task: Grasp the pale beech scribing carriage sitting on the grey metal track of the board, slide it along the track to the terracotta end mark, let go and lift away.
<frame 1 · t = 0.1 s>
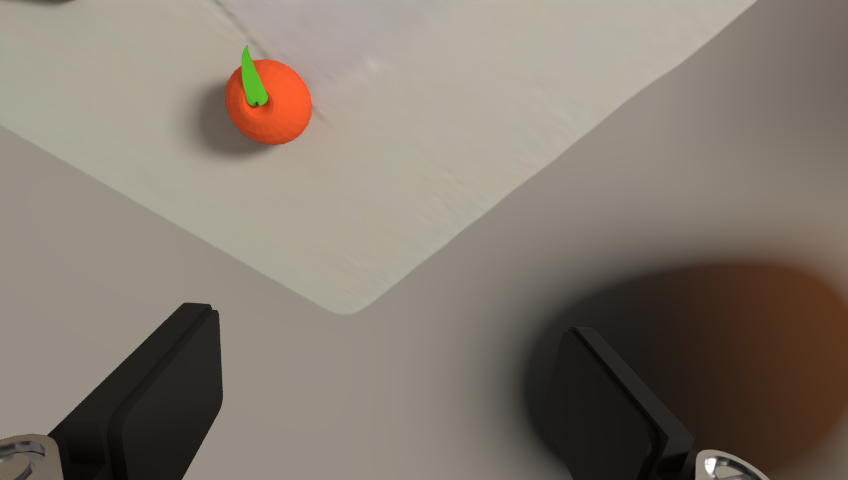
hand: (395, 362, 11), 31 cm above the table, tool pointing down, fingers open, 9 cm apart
clementine: (279, 97, 37), on the table
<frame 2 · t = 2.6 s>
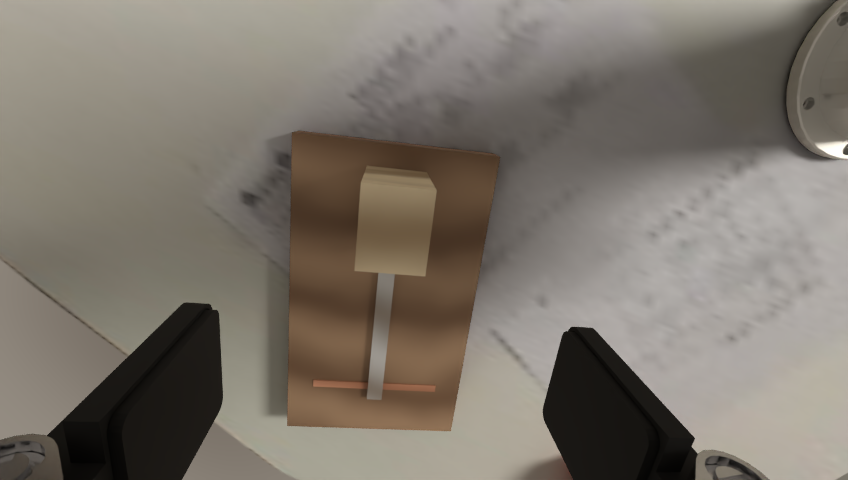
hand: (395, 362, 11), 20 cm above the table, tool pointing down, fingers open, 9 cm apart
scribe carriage: (393, 221, 24), point 6 cm above the table, slide at 0.0 cm
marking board: (383, 292, 32), on the table
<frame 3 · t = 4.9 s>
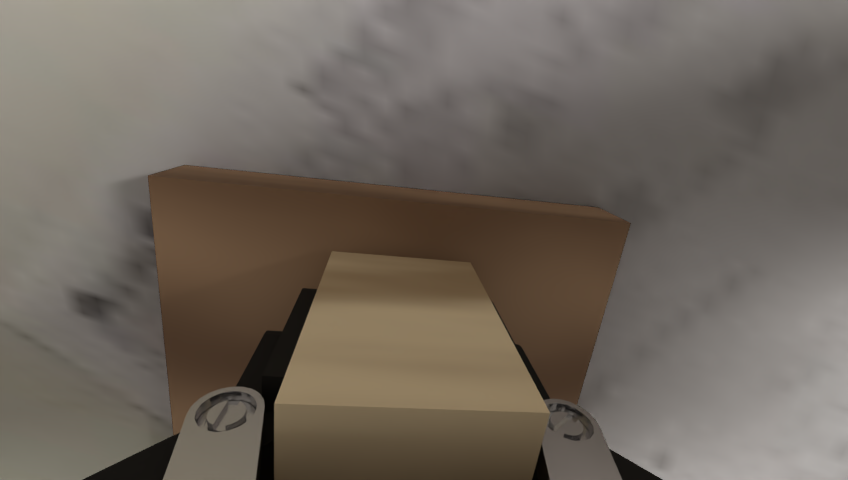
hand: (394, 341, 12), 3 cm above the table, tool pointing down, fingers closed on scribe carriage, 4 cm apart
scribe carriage: (395, 412, 9), point 6 cm above the table, slide at 0.0 cm, touching gripper
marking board: (375, 460, 17), on the table
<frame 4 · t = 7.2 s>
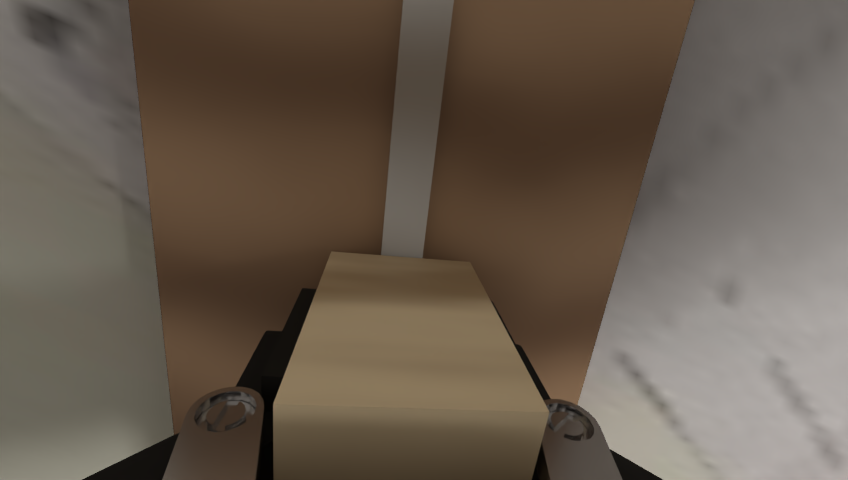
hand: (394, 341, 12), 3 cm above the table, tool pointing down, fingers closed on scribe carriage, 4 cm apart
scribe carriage: (395, 412, 9), point 6 cm above the table, slide at 8.8 cm, touching gripper
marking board: (394, 275, 14), on the table
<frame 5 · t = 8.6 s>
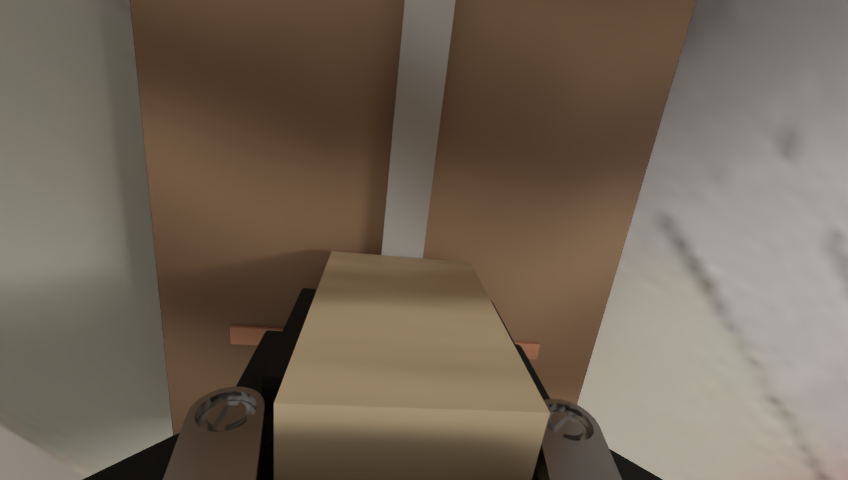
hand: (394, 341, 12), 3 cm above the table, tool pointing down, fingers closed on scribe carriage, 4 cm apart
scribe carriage: (395, 412, 9), point 6 cm above the table, slide at 14.8 cm, touching gripper
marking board: (413, 101, 12), on the table
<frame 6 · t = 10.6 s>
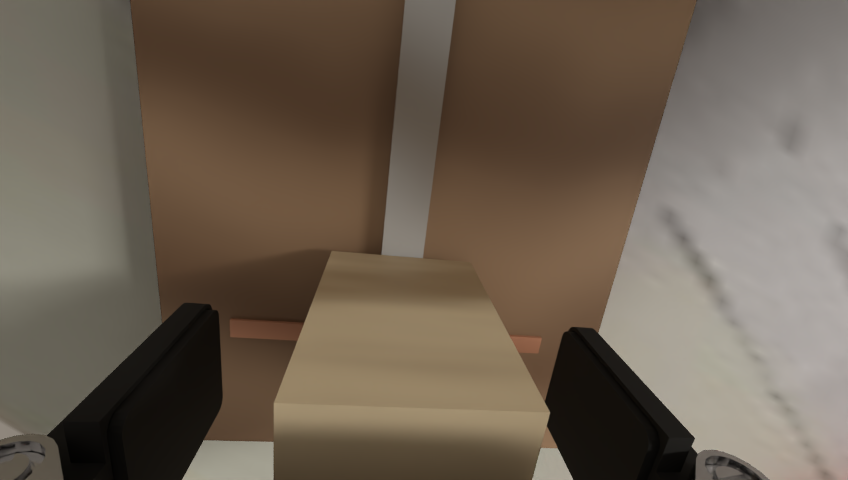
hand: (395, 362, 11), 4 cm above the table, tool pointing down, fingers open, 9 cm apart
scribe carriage: (395, 411, 9), point 6 cm above the table, slide at 15.0 cm
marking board: (414, 93, 12), on the table
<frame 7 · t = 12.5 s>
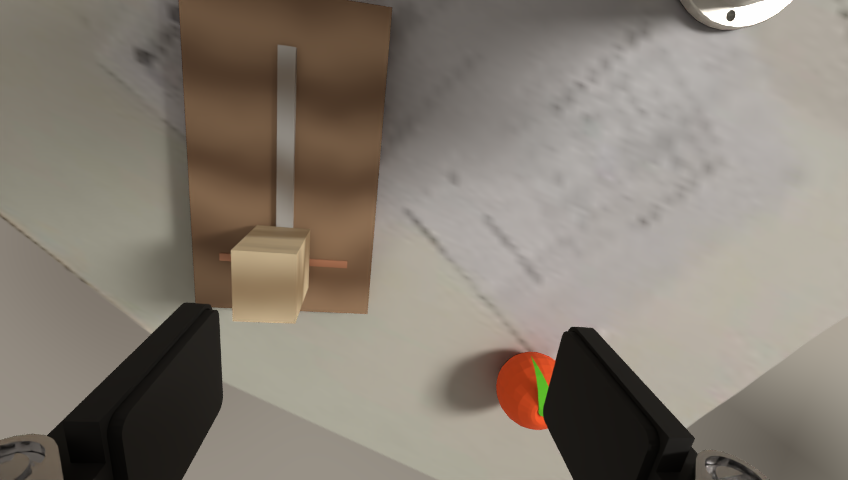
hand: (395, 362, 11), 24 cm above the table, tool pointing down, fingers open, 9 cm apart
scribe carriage: (274, 275, 29), point 6 cm above the table, slide at 15.0 cm
clementine: (518, 362, 41), on the table
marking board: (291, 165, 32), on the table
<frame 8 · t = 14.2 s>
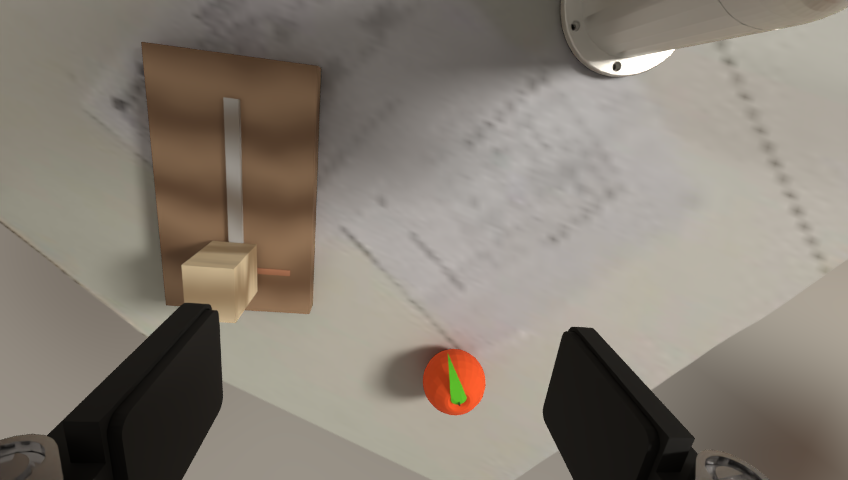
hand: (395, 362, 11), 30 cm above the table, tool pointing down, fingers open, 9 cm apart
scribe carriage: (223, 282, 35), point 6 cm above the table, slide at 15.0 cm
clementine: (448, 357, 47), on the table
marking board: (243, 190, 38), on the table
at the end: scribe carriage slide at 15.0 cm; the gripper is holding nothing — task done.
